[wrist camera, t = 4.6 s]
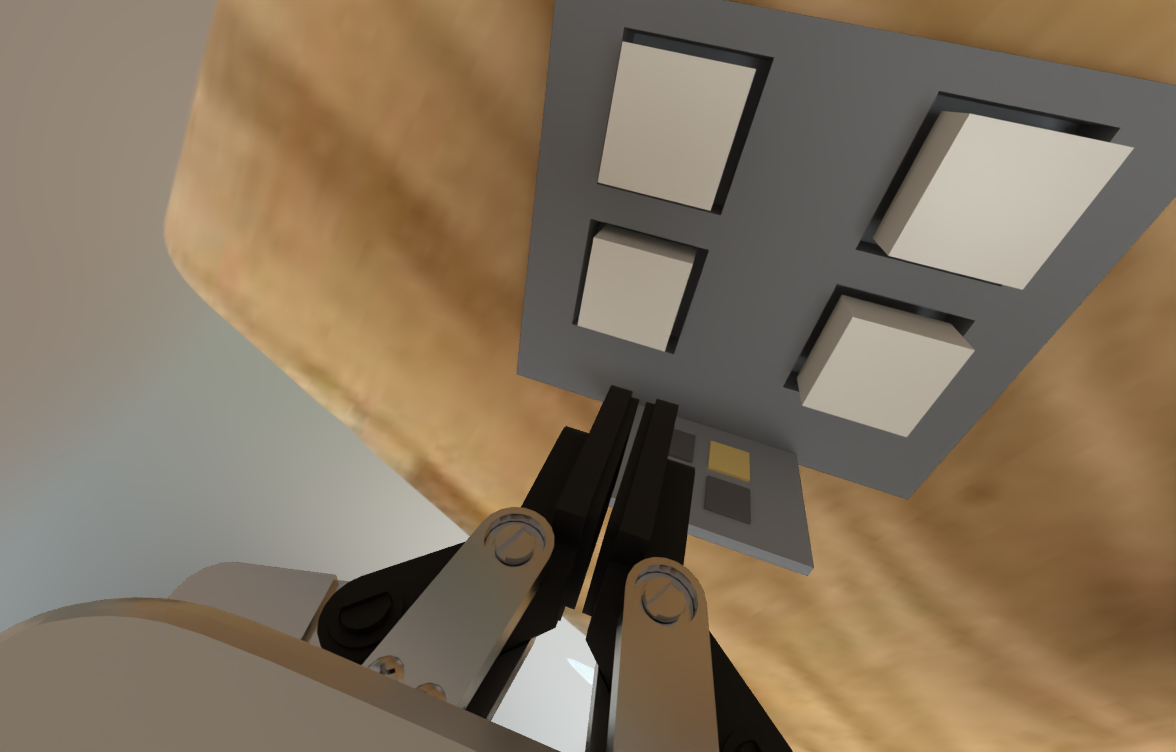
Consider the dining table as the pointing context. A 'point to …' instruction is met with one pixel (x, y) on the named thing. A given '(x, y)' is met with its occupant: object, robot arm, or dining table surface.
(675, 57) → the button
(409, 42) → the dining table surface
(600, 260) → the button
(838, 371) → the button
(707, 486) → the card
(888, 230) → the button
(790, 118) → the board
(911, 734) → the dining table surface
